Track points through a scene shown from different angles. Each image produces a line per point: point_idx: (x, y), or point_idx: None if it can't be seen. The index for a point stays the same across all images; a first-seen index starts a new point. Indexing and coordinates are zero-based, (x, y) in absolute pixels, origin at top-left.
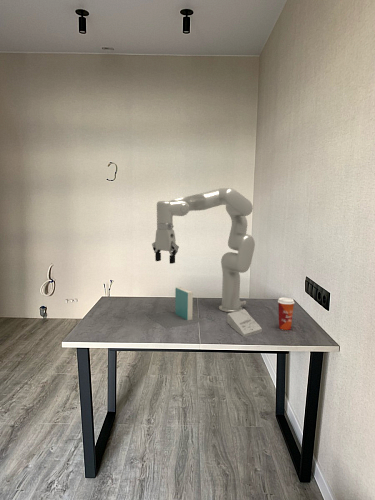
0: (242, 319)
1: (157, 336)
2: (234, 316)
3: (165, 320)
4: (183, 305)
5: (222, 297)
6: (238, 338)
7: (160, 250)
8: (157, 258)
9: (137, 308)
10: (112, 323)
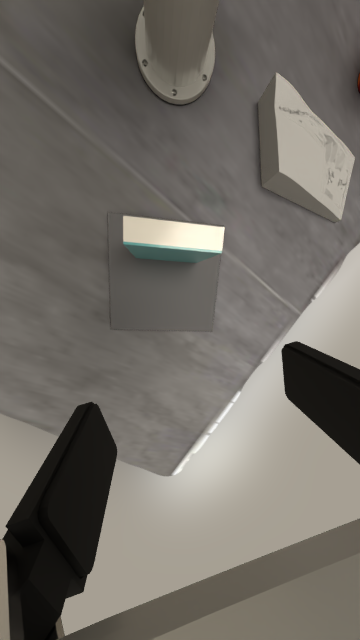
0: (318, 163)
1: (231, 359)
2: (300, 169)
3: (169, 307)
4: (183, 257)
5: (166, 32)
6: (330, 237)
7: (16, 624)
8: (106, 469)
9: (27, 316)
10: (120, 404)
